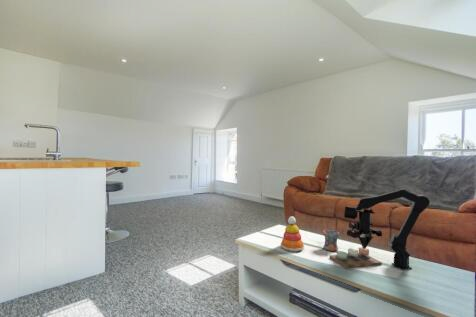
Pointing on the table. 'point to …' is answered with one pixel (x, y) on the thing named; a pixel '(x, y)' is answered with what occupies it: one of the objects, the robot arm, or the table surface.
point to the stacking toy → (292, 237)
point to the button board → (356, 261)
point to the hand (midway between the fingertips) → (364, 248)
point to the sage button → (342, 255)
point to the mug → (331, 240)
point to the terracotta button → (363, 251)
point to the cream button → (352, 252)
